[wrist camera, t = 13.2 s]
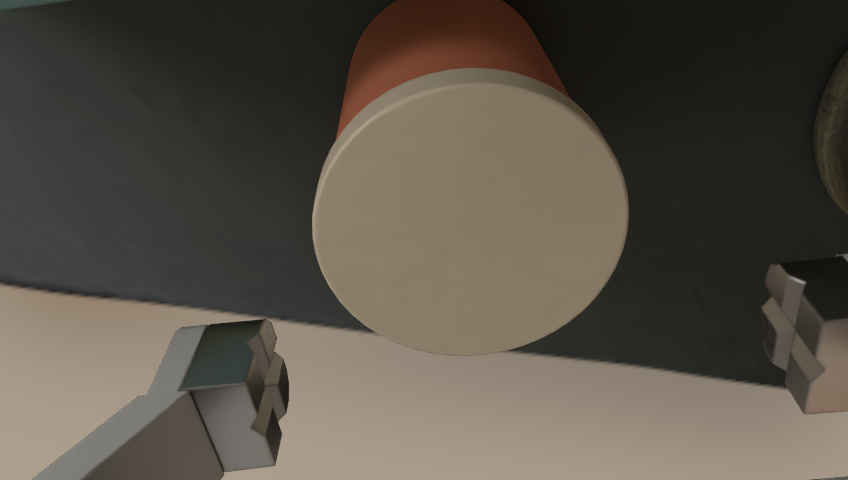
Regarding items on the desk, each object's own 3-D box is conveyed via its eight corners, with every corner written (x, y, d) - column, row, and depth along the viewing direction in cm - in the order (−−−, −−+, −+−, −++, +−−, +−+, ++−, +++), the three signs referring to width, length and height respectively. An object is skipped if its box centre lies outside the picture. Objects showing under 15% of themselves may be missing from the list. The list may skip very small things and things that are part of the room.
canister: (547, -38, 21) (632, 60, 13) (556, 166, 24) (627, 338, 17) (321, -5, 21) (277, 110, 13) (362, 192, 24) (345, 373, 17)
